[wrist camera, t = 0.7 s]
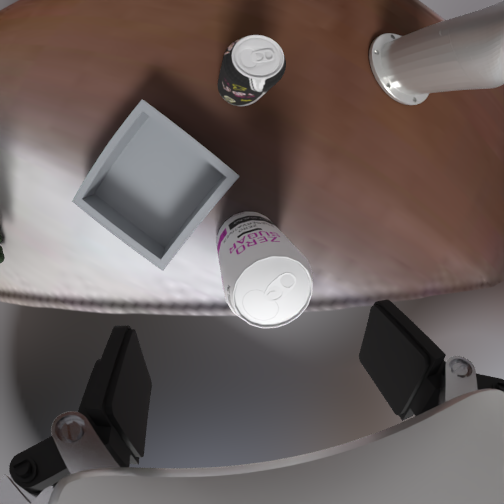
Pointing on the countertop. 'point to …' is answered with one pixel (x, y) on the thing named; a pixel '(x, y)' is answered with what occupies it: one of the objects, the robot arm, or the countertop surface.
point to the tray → (153, 185)
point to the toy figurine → (1, 251)
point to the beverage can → (250, 69)
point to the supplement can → (262, 271)
